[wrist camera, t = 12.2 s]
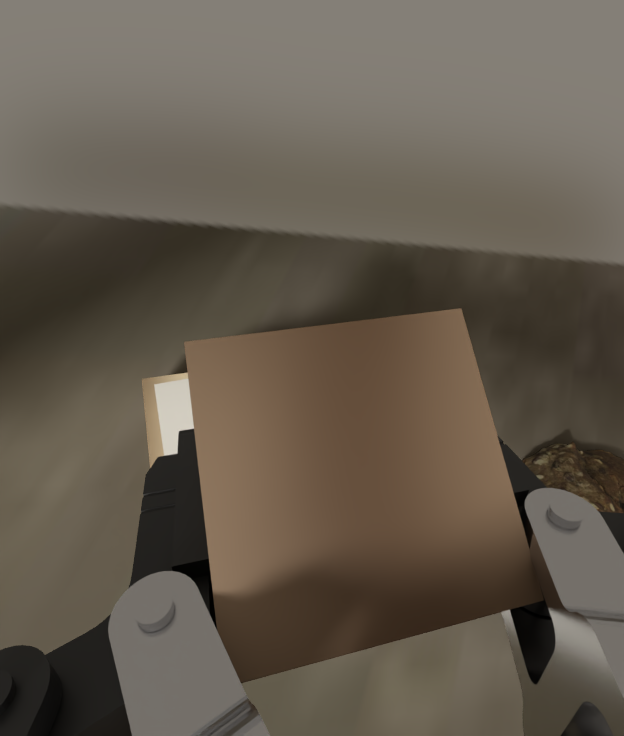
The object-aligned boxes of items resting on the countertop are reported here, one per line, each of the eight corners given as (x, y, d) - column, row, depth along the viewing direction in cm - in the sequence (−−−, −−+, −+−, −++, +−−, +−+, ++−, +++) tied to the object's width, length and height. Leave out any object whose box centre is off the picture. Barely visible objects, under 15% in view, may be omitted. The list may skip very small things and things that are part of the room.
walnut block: (237, 571, 13) (223, 687, 6) (217, 416, 15) (184, 341, 7) (385, 538, 14) (543, 600, 7) (355, 394, 15) (461, 308, 8)
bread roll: (581, 713, 24) (664, 771, 19) (438, 533, 25) (482, 544, 21) (698, 556, 27) (794, 571, 23) (567, 405, 29) (631, 390, 24)
